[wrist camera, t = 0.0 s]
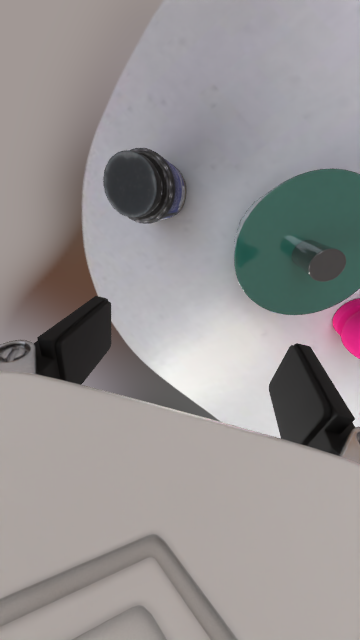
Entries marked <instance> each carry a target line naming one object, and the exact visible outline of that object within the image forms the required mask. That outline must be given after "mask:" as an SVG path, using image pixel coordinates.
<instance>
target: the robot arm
mask: <svg viewBox="0 0 360 640" xmlns="http://www.w3.org/2000/svg"><path fill="white" fill-rule="evenodd" d="M110 346H111V303H110V302H108V299H106V298H102V297H98V296H95V297H94V298H92V299H91V300H90V301H88V302H87V303H85V304H84V305H82V306H81V307H80V308H78V309H77V310H75V311H74V312H73V313H71V314H70V315H69V316H67V317H66V318H64V319H63V320H62V321H60V322H59V323H57V324H56V325H55V326H53V327H52V328H51V329H49V330H47V331H46V332H45V333H43V334H42V335H40V336H39V337H38V341H37V342H35V343H34V344H33V343H32V342H30V341H26V340H15V341H9V342H6V343H3V344H0V640H360V427H355V426H354V425H353V423H352V422H353V421H354V420H355V418H354V417H353V415H352V413H351V412H350V410H349V409H348V407H347V405H346V404H345V402H344V401H343V399H342V397H341V396H340V394H339V392H338V391H337V389H336V388H335V386H334V384H333V383H332V381H331V380H330V378H329V376H328V375H327V373H326V371H325V370H324V368H323V367H322V365H321V363H320V362H319V360H318V359H317V357H316V355H315V354H314V352H313V350H312V349H311V347H310V346H306V345H302V344H298V343H297V344H295V345H294V346H293V345H291V346H290V347H289V349H288V351H287V353H286V355H285V356H284V358H283V360H282V362H281V364H280V366H279V367H278V369H277V371H276V373H275V375H274V377H273V378H272V380H271V382H270V384H269V392H270V396H271V400H272V404H273V408H274V412H275V416H276V420H277V424H278V428H279V432H280V436H281V439H280V438H277V437H273V436H270V435H266V434H262V433H259V432H255V431H252V430H248V429H244V428H241V427H237V426H233V425H230V424H226V423H223V422H219V421H215V420H212V419H208V418H204V417H200V416H196V415H193V414H189V413H185V412H182V411H178V410H174V409H171V408H167V407H163V406H160V405H156V404H152V403H148V402H145V401H141V400H137V399H133V398H130V397H126V396H122V395H118V394H114V393H110V392H107V391H103V390H99V389H95V388H91V387H88V386H84V385H81V384H82V383H83V382H84V381H85V379H86V378H87V377H88V375H89V374H90V373H91V372H92V370H93V369H94V368H95V367H96V365H97V364H98V363H99V362H100V360H101V359H102V358H103V356H104V355H105V354H106V353H107V351H108V350H109V348H110Z"/></svg>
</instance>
